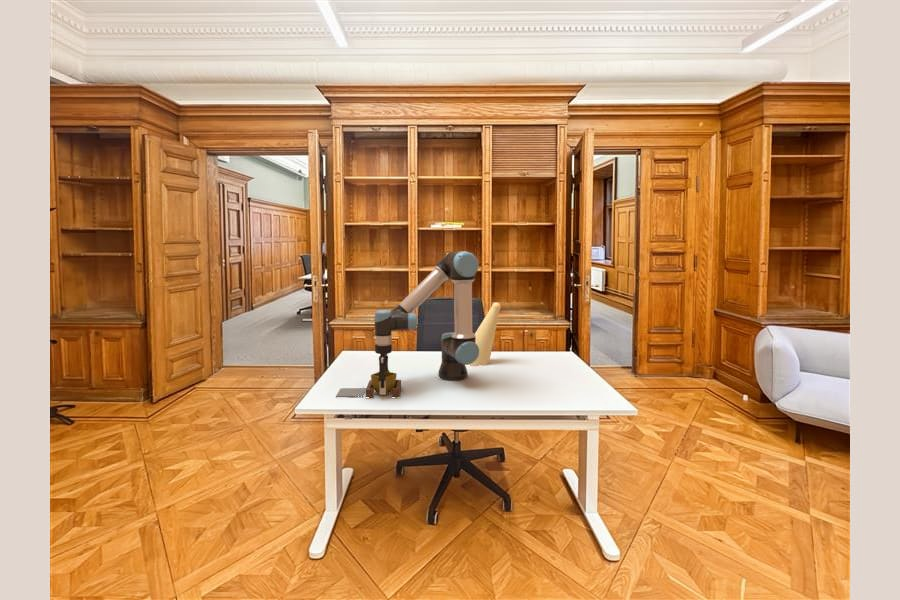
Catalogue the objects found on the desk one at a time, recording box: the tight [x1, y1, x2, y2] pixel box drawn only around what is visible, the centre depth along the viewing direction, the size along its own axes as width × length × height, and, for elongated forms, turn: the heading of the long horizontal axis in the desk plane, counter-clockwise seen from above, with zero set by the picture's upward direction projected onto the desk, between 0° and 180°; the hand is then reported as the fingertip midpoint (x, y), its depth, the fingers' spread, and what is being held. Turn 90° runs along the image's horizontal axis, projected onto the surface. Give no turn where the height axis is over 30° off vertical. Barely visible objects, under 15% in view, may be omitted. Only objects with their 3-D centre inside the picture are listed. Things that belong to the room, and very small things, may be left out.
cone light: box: [468, 302, 502, 367], centre depth 285 cm, size 25×18×35 cm
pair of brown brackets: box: [365, 379, 402, 399], centre depth 230 cm, size 15×15×4 cm
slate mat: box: [335, 387, 367, 398], centre depth 230 cm, size 12×12×1 cm
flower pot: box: [370, 371, 397, 395], centre depth 230 cm, size 9×9×9 cm
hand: (384, 390), depth 231 cm, fingers closed on flower pot, 11 cm apart
